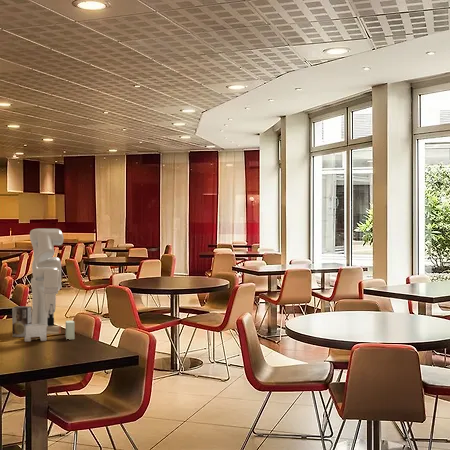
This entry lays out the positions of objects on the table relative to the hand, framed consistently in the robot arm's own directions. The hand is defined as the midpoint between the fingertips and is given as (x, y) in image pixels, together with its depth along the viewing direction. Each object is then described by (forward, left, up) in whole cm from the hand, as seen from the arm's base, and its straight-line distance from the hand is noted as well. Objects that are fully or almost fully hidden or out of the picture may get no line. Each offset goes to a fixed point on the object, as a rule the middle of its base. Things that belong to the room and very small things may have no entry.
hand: (50, 324), depth 356 cm
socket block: (0, +10, -8) cm, 13 cm away
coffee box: (-16, -14, -8) cm, 23 cm away
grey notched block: (0, -8, -8) cm, 11 cm away
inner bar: (0, -3, -5) cm, 6 cm away
